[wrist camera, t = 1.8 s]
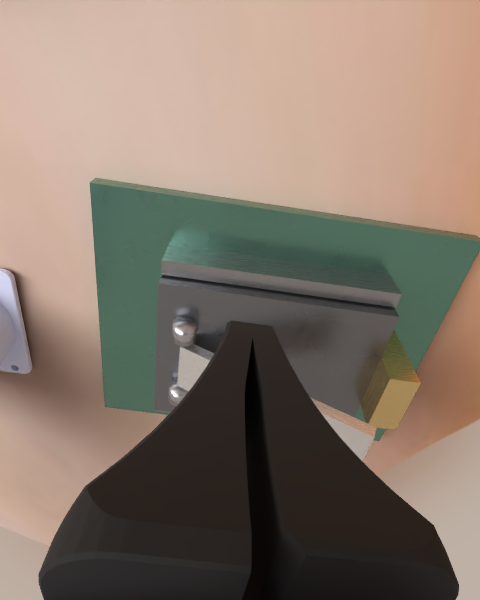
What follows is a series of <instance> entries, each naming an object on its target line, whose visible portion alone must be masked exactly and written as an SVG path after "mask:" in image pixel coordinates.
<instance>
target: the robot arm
mask: <svg viewBox="0 0 480 600" xmlns="http://www.w3.org/2000/svg"><path fill="white" fill-rule="evenodd" d="M15 365H16V366H15ZM31 369H32V362H31V357H30V352H29V347H28V342H27V337H26V332H25V327H24V322H23V317H22V312H21V307H20V302H19V297H18V292H17V287H16V282H15V277H14V275H13V274H12V273H11V272H10V271H8V270H6V269H0V371H5V372H13V373H21V374H27V373H29V372H30V371H31ZM39 585H40V589H41V592H42V595H43V598H44V600H456V598H457V596H458V592H459V584H458V581H457V578H456V576H455V573H454V571H453V568H452V565H451V563H450V560H449V557H448V555H447V553H446V550H445V548H444V546H443V544H442V542H441V540H440V538H439V536H438V534H437V531H436V529H435V527H434V525H433V524H431V523H430V522H429V521H428V520H427V519H426V518H424V517H423V516H422V515H421V514H420V513H418V512H417V511H416V510H415V509H414V508H412V507H411V506H410V505H409V504H408V503H406V502H405V501H404V500H403V499H402V498H401V497H399V496H398V495H397V494H396V493H395V492H394V491H392V490H391V489H390V488H389V487H388V486H387V485H386V484H385V483H384V482H383V481H382V480H381V479H380V478H379V477H378V476H376V475H375V474H374V473H373V472H372V471H371V470H370V469H369V468H368V467H367V466H366V465H365V464H364V463H363V462H362V461H361V459H360V458H359V457H358V456H357V455H356V454H355V453H354V452H353V451H352V450H351V449H350V448H349V447H348V445H347V444H346V443H345V442H344V441H343V440H342V439H341V438H340V436H339V435H338V434H337V433H336V432H335V430H334V429H333V428H332V427H331V425H330V424H329V423H328V421H327V420H326V419H325V418H324V416H323V415H322V414H321V412H320V411H319V409H318V408H317V407H316V405H315V404H314V402H313V401H312V399H311V398H310V396H309V395H308V393H307V392H306V390H305V388H304V387H303V385H302V384H301V382H300V380H299V379H298V377H297V375H296V373H295V371H294V370H293V368H292V366H291V364H290V362H289V360H288V359H287V357H286V355H285V353H284V350H283V348H282V346H281V344H280V342H279V340H278V337H277V335H276V332H275V330H274V328H273V327H272V326H269V325H261V324H254V323H246V322H239V321H232V320H231V321H229V322H228V323H227V325H226V329H225V332H224V335H223V337H222V340H221V342H220V344H219V346H218V348H217V350H216V351H215V353H214V355H213V357H212V358H211V360H210V362H209V363H208V365H207V367H206V368H205V370H204V371H203V372H202V374H201V375H200V377H199V378H198V380H197V381H196V382H195V384H194V385H193V387H192V388H191V389H190V390H189V392H188V393H187V394H186V395H185V397H184V398H183V399H182V400H181V401H180V403H179V404H178V405H177V406H176V407H175V408H174V409H173V410H172V412H171V413H170V414H169V415H168V416H167V417H166V418H165V419H164V420H163V421H162V422H161V423H160V424H159V425H158V426H157V427H156V428H155V429H154V430H153V431H152V432H151V433H150V434H149V435H148V436H147V437H145V438H144V439H143V440H142V441H141V442H140V443H139V444H138V445H136V446H135V447H134V448H133V449H132V450H131V451H130V452H129V453H128V454H126V455H125V456H124V457H123V458H122V459H120V460H119V461H118V462H116V463H115V464H114V465H113V466H111V467H110V468H109V469H107V470H106V471H105V472H103V473H102V474H101V475H99V476H98V477H97V478H95V479H94V480H93V481H92V482H90V483H89V484H88V485H86V486H85V487H84V489H83V490H82V492H81V493H80V495H79V496H78V498H77V499H76V501H75V502H74V504H73V505H72V507H71V508H70V510H69V511H68V513H67V515H66V516H65V518H64V520H63V522H62V523H61V525H60V527H59V529H58V531H57V533H56V535H55V537H54V539H53V541H52V543H51V546H50V548H49V551H48V553H47V555H46V558H45V560H44V562H43V565H42V568H41V570H40V572H39Z"/></svg>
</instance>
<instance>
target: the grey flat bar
mask: <svg viewBox="0 0 480 600" xmlns="http://www.w3.org/2000/svg"><path fill="white" fill-rule="evenodd" d="M213 355H214V353H213V352H211V351H208V350H206V349H204V348H202V347H200V346H197V345H195V344H192V345H190V346H187V347H182V346H180V354H179V368H178V381H177V386H179V387H181V388H183V389H185V390H187V391H189V390H190V389H191V388H192V387H193V385H194V384H195V382H196V381H197V380H198V378H199V377H200V375H201V374H202V372H203V371H204V370H205V368H206V367H207V365H208V363H209V362H210V360H211V358H212V357H213ZM310 398H311V397H310ZM311 399H312V401H313V402H314V404H315V405H316V407H317V408H318V409H319V411H320V412H321V414H322V415H323V416H324V418H325V419H326V420H327V421H328V423H329V424H330V425H331V427H332V428H333V429H334V430H335V432H336V433H337V434H338V435H339V436H340V438H341V439H342V440H343V441H344V442H345V443H346V444H347V445H348V447H349V448H350V449H351V450H352V451H353V452H354V453H355V454H356V455H357V456H358V457H359V458H360V459H361V461H363V459H364V457H365V455H366V453H367V451H368V449H369V447H370V445H371V443H372V441H373V439H374V437H375V433H376V429H377V428H376V427H374V426H372V425H369V424H367V423H365V422H363V421H361V420H359V419H356V418H354V417H352V416H350V415H348V414H346V413H343V412H341V411H339V410H337V409H335V408H332V407H330V406H328V405H326V404H324V403H322V402H319V401H317V400H315V399H313V398H311Z"/></svg>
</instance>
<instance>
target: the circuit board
mask: <svg viewBox="0 0 480 600" xmlns="http://www.w3.org/2000/svg"><path fill="white" fill-rule="evenodd" d="M90 192H91V206H92V221H93V236H94V250H95V265H96V279H97V294H98V309H99V323H100V338H101V353H102V367H103V382H104V397H105V407H110V408H118V409H126V410H134V411H142V412H150V413H159V414H167V415H169V414H170V413H171V412H172V410H173V409H174V408H175V407H176V406H177V405H178V404H179V403H180V401H181V400H182V399H183V398H184V397H185V395H186V394H187V393H188V392H189V391H187V390H185V389H183V388H181V387H179V386H177V381H178V368H179V354H180V346H182V347H187V346H190V345H192V344H195V345H197V346H200V347H202V348H204V349H206V350H208V351H211V352H213V353H215V351H216V350H217V348H218V346H219V344H220V342H221V340H222V337H223V335H224V332H225V329H226V325H227V323H228V322H229V321H231V320H232V321H239V322H246V323H254V324H261V325H269V326H272V327H273V328H274V330H275V332H276V335H277V337H278V340H279V342H280V344H281V346H282V348H283V350H284V353H285V355H286V357H287V359H288V360H289V362H290V364H291V366H292V368H293V370H294V371H295V373H296V375H297V377H298V379H299V380H300V382H301V384H302V385H303V387H304V388H305V390H306V392H307V393H308V395H309V396H310V397H311V398H313V399H315V400H317V401H319V402H322V403H324V404H326V405H328V406H330V407H332V408H335V409H337V410H339V411H341V412H343V413H346V414H348V415H350V416H352V417H354V418H356V419H359V420H361V421H363V422H365V423H367V424H369V425H372V426H374V427H376V428H377V429H376V433H375V437H374V439H373V440H376V441H379V440H380V439H381V437H382V435H383V433H384V431H385V429H391V430H396V428H397V426H398V424H399V423H400V421H401V419H402V417H403V415H404V413H405V412H406V410H407V408H408V406H409V404H410V403H411V401H412V399H413V397H414V395H415V393H416V392H417V390H418V388H419V386H420V384H421V382H420V380H419V378H418V376H417V374H416V370H417V368H418V366H419V364H420V362H421V361H422V359H423V357H424V355H425V353H426V351H427V349H428V347H429V345H430V343H431V342H432V340H433V338H434V336H435V334H436V332H437V330H438V328H439V326H440V324H441V323H442V321H443V319H444V317H445V315H446V313H447V311H448V309H449V307H450V305H451V303H452V302H453V300H454V298H455V296H456V294H457V292H458V290H459V288H460V286H461V284H462V283H463V281H464V279H465V277H466V275H467V273H468V271H469V269H470V267H471V265H472V264H473V262H474V260H475V258H476V256H477V254H478V252H479V250H480V238H478V237H477V236H475V235H468V234H462V233H455V232H448V231H442V230H435V229H429V228H422V227H415V226H409V225H402V224H395V223H389V222H382V221H376V220H369V219H362V218H356V217H349V216H343V215H336V214H329V213H323V212H316V211H309V210H303V209H296V208H290V207H283V206H276V205H270V204H263V203H257V202H250V201H243V200H237V199H230V198H224V197H217V196H210V195H204V194H197V193H190V192H184V191H177V190H171V189H164V188H157V187H151V186H144V185H138V184H131V183H124V182H118V181H111V180H104V179H98V178H95V179H94V180H93V181H91V182H90Z"/></svg>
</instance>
